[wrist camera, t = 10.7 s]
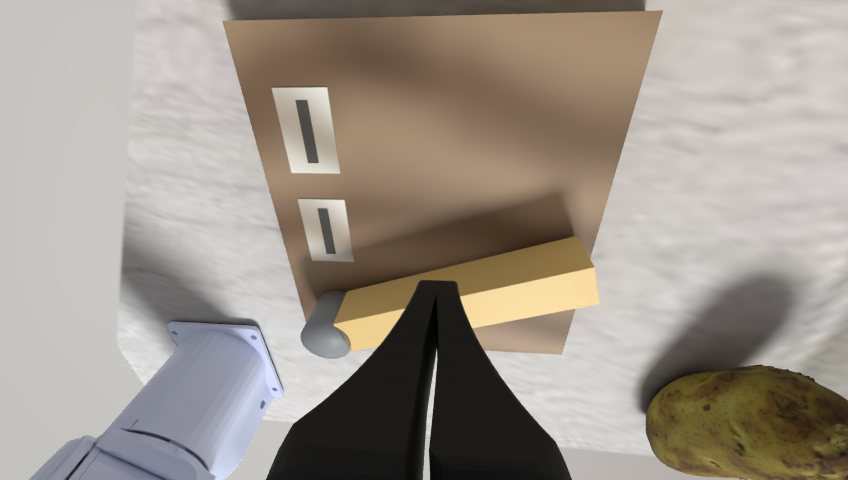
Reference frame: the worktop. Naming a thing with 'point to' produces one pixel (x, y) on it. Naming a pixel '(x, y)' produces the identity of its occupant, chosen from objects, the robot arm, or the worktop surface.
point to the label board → (439, 141)
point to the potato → (750, 426)
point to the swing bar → (479, 291)
